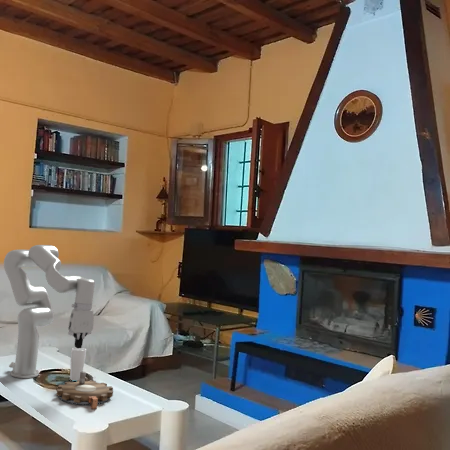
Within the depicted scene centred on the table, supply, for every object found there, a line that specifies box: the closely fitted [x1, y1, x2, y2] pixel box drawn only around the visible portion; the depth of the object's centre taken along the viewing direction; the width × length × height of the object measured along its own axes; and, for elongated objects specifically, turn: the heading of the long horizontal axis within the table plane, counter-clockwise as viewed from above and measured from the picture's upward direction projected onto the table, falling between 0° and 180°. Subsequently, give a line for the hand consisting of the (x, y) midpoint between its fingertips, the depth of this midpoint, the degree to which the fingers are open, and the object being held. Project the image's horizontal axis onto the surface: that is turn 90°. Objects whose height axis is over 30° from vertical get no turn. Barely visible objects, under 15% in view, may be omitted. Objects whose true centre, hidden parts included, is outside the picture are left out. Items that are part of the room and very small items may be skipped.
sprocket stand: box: [57, 395, 112, 410], centre depth 225 cm, size 24×22×4 cm
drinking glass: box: [69, 346, 87, 381], centre depth 245 cm, size 7×7×15 cm
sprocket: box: [56, 371, 114, 403], centre depth 226 cm, size 24×24×7 cm
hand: (78, 347), depth 232 cm, fingers closed
